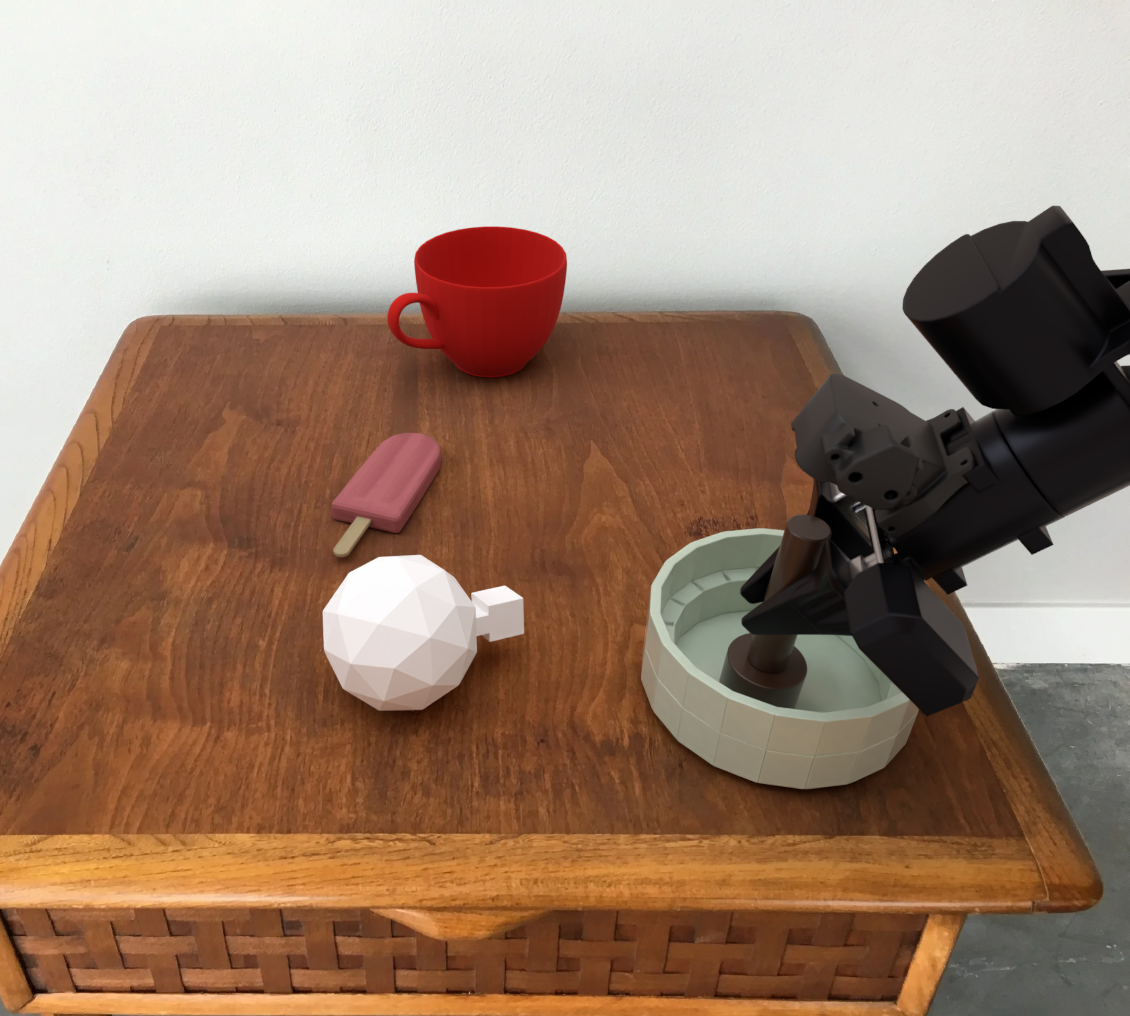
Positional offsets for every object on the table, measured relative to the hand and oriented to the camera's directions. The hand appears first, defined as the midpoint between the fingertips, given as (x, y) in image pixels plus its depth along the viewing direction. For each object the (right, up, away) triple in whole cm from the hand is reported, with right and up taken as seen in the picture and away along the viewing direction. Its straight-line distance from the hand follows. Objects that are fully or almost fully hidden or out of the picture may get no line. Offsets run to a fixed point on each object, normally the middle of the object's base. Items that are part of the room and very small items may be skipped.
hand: (745, 611), depth 55 cm
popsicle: (-21, +6, +20) cm, 30 cm away
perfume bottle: (-17, -5, +6) cm, 19 cm away
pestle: (+2, -5, +3) cm, 6 cm away
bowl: (+3, -5, +5) cm, 7 cm away
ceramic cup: (-14, +18, +36) cm, 43 cm away
